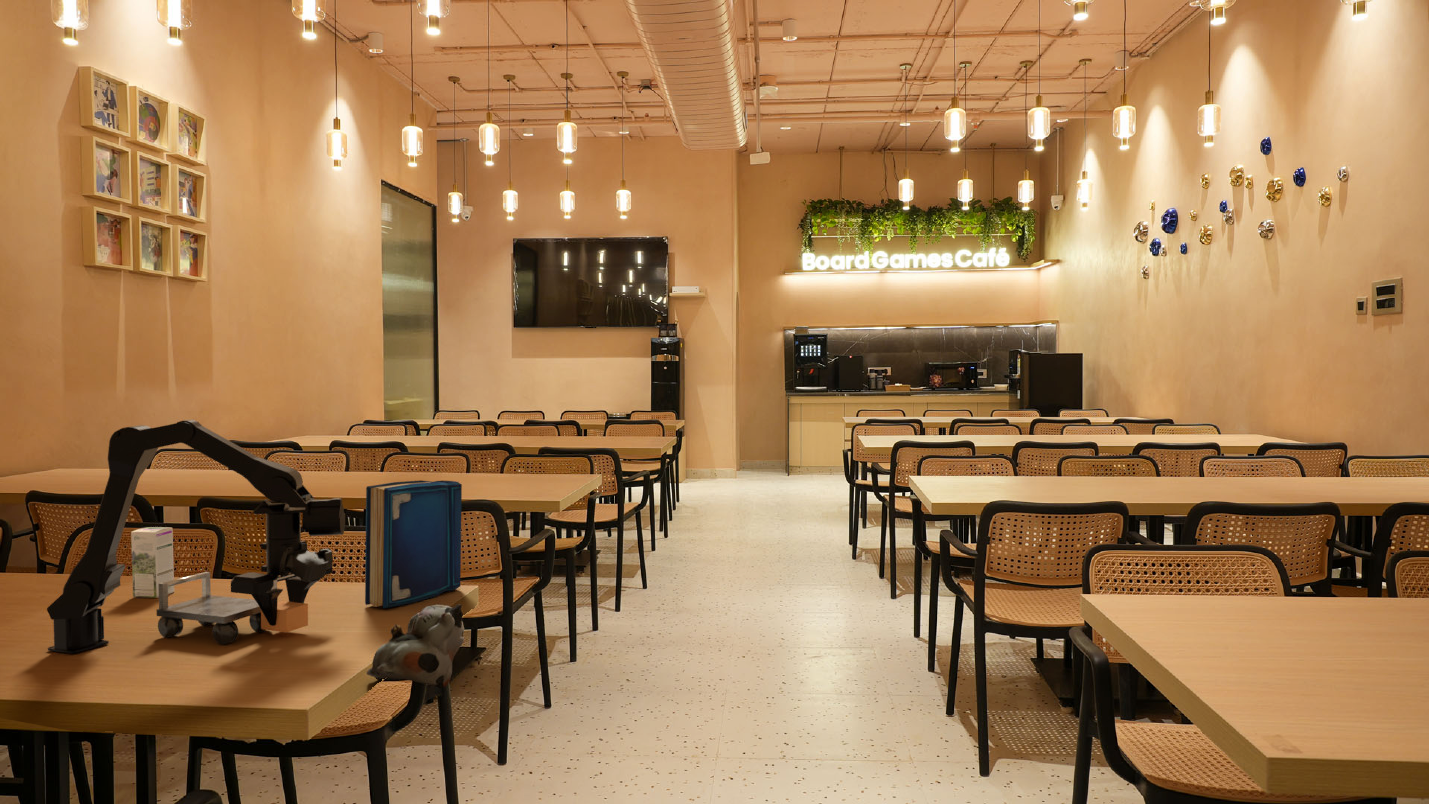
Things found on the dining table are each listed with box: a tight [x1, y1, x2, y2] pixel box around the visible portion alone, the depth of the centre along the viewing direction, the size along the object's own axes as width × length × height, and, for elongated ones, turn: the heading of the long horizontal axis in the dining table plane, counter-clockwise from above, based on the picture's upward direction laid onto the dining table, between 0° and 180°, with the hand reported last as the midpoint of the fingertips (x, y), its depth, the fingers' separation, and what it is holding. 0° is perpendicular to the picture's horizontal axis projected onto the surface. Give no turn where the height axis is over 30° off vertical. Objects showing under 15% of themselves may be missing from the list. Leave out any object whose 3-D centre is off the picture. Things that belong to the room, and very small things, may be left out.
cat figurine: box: [366, 603, 465, 689], centre depth 139 cm, size 15×12×14 cm
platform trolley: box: [156, 571, 266, 646], centre depth 163 cm, size 11×17×10 cm, turn 71°
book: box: [364, 480, 463, 609], centre depth 189 cm, size 22×7×25 cm, turn 149°
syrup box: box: [130, 526, 175, 599], centre depth 193 cm, size 6×6×14 cm
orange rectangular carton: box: [261, 600, 309, 633], centre depth 163 cm, size 5×6×4 cm
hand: (284, 621), depth 163 cm, fingers closed on orange rectangular carton, 5 cm apart
